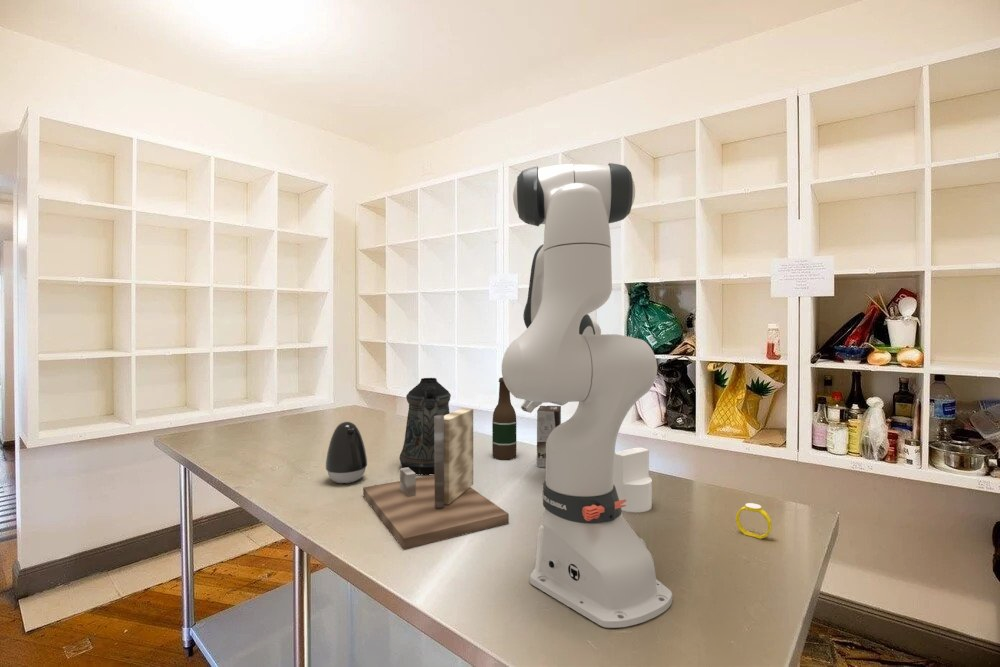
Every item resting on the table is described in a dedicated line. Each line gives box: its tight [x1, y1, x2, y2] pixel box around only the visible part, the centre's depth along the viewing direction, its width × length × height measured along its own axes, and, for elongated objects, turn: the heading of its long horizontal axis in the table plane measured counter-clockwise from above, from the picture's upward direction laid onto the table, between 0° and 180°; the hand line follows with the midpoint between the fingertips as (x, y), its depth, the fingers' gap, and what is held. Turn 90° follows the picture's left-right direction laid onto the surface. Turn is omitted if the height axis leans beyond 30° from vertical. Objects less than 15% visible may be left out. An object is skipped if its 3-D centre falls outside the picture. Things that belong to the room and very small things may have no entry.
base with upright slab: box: [613, 446, 653, 513], centre depth 106 cm, size 9×9×12 cm
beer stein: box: [399, 377, 452, 476], centre depth 132 cm, size 16×19×25 cm
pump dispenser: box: [325, 421, 368, 484], centre depth 122 cm, size 10×10×15 cm
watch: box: [735, 502, 773, 540], centre depth 91 cm, size 6×3×6 cm, turn 49°
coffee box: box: [536, 405, 562, 468], centre depth 136 cm, size 9×6×16 cm
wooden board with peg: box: [362, 467, 510, 550], centre depth 104 cm, size 30×22×7 cm
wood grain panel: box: [434, 407, 474, 508], centre depth 105 cm, size 16×3×19 cm, turn 160°
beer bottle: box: [491, 376, 517, 461], centre depth 143 cm, size 8×8×24 cm
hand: (525, 410), depth 118 cm, fingers closed
